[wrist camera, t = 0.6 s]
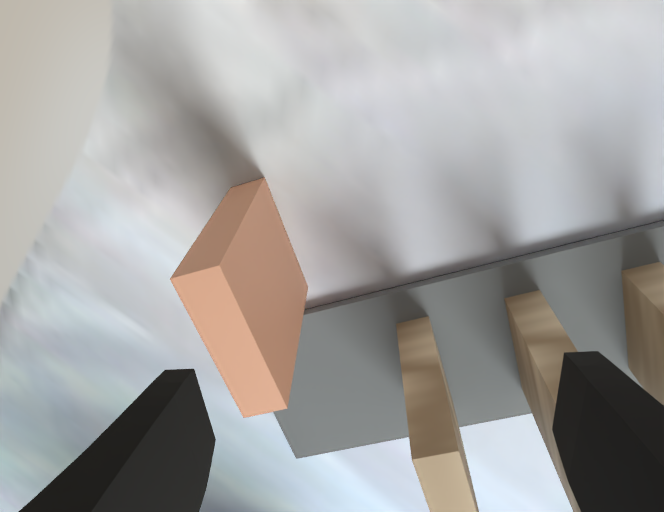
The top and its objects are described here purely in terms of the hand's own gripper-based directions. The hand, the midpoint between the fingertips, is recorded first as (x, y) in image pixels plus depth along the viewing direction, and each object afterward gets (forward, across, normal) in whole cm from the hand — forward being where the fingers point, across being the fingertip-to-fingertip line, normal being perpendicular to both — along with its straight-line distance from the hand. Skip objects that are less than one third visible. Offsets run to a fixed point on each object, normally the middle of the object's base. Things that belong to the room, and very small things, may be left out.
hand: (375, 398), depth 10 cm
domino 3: (+10, -6, +7) cm, 14 cm away
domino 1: (+10, +4, +2) cm, 11 cm away
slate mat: (+10, -6, +7) cm, 14 cm away
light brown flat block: (+10, -2, +8) cm, 13 cm away
